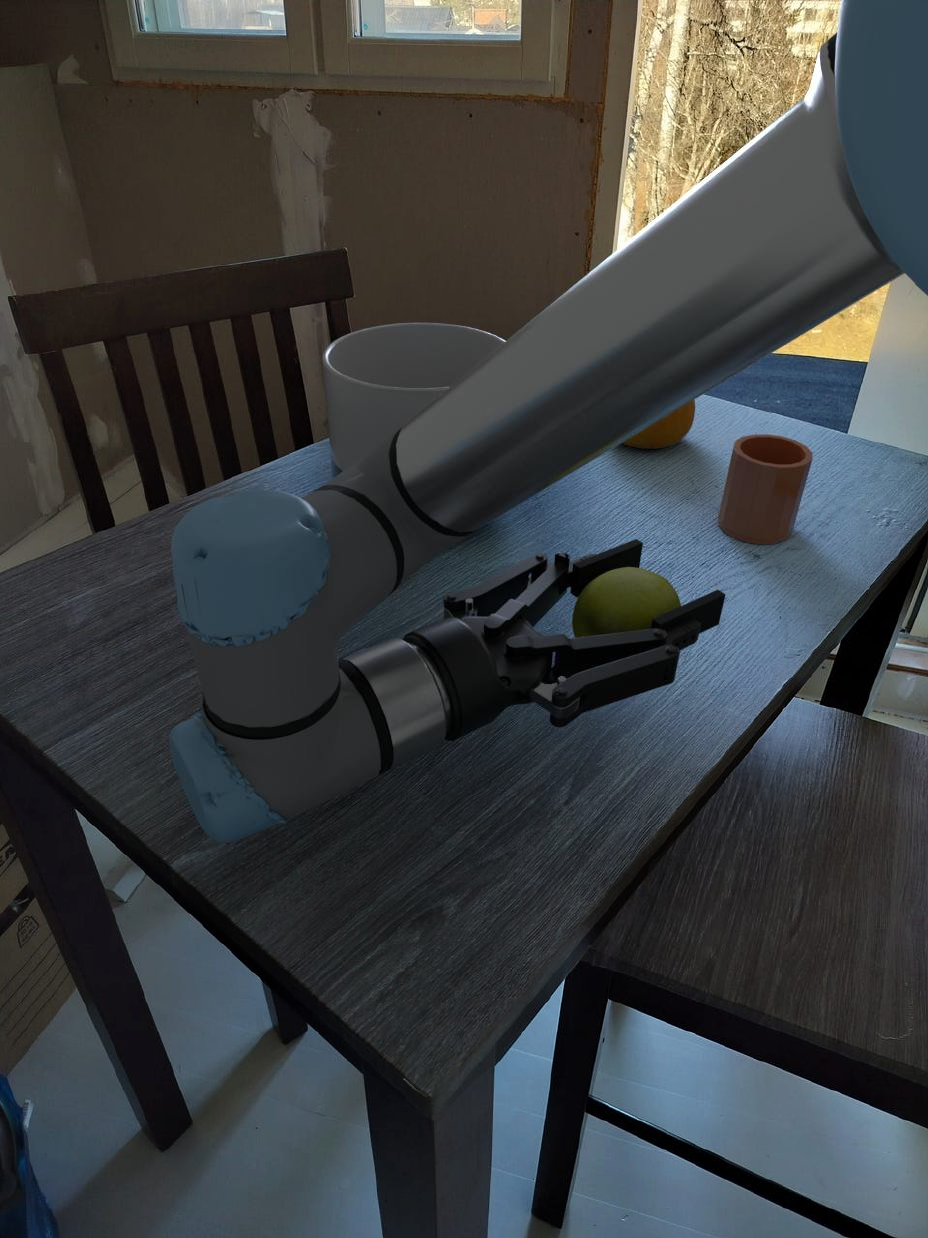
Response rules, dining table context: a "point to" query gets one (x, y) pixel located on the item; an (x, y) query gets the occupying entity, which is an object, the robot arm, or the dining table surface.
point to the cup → (764, 488)
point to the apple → (622, 602)
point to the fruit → (665, 429)
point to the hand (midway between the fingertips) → (675, 580)
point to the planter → (392, 379)
